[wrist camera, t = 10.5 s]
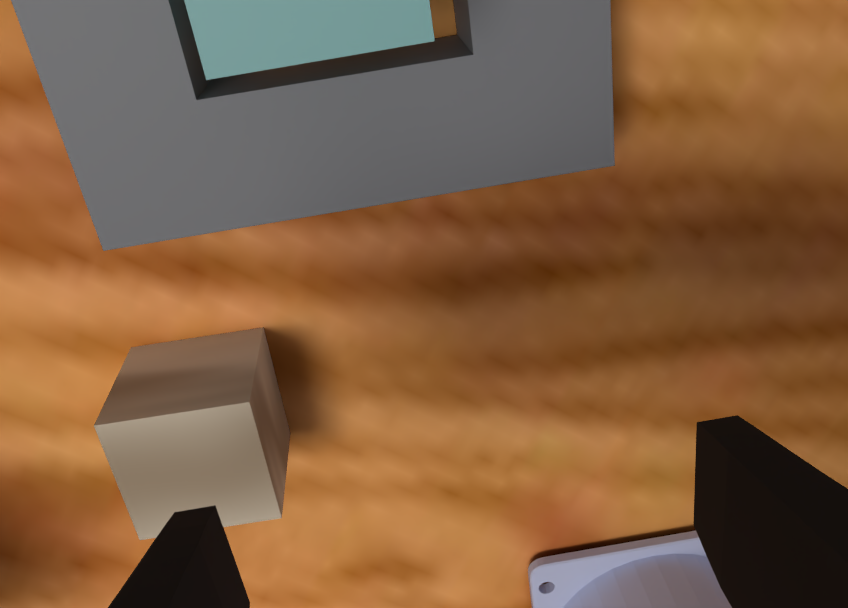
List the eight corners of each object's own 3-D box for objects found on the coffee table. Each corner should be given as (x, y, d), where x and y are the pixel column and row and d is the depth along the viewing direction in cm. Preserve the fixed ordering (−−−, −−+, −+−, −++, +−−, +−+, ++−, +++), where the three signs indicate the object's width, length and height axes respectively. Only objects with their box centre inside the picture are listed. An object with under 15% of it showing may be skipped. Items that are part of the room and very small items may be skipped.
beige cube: (290, 431, 22) (281, 517, 19) (168, 450, 22) (139, 539, 19) (263, 325, 21) (249, 401, 18) (131, 345, 21) (94, 426, 17)
